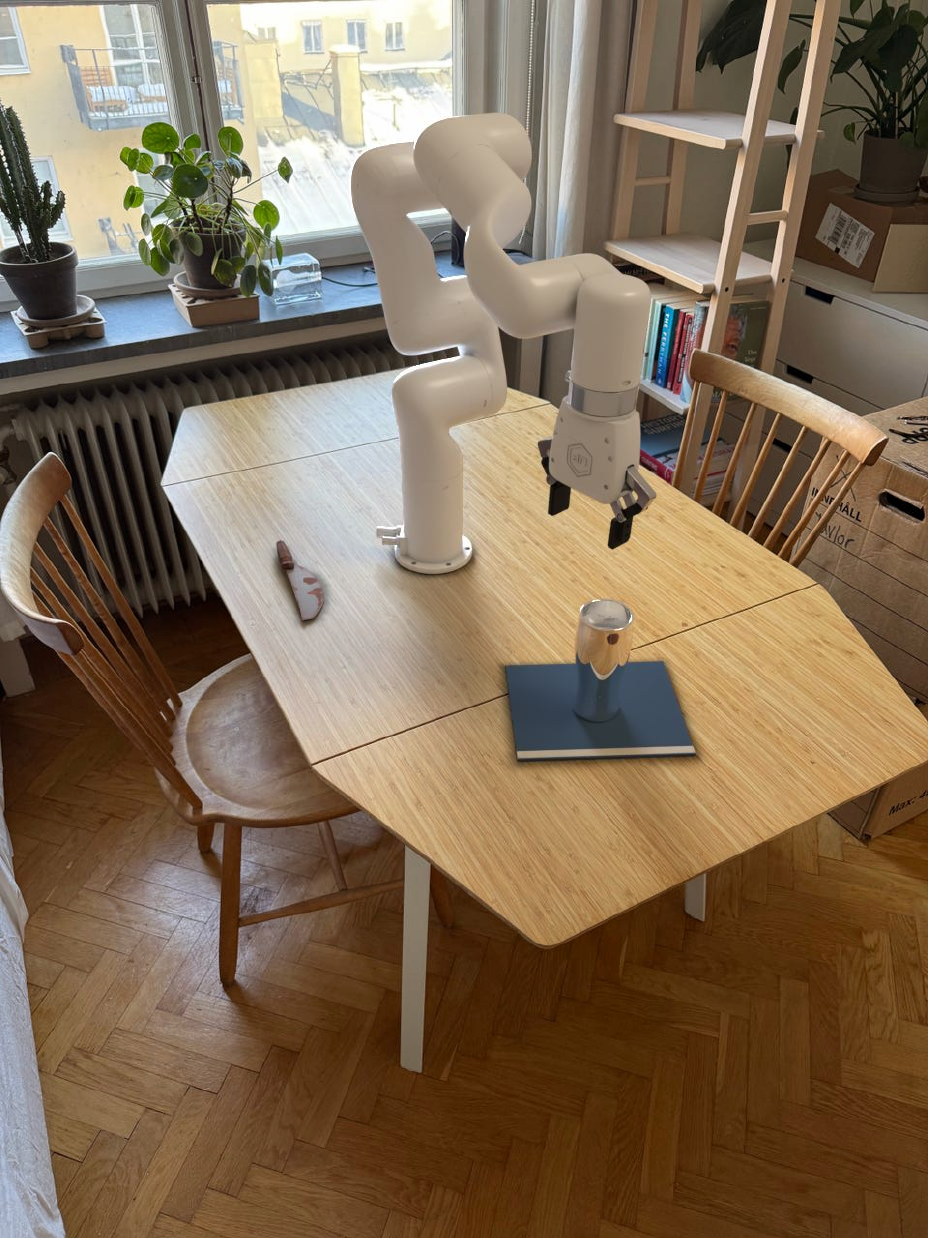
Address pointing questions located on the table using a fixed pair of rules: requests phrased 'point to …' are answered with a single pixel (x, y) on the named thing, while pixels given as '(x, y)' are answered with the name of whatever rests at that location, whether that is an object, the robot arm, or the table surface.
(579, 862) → the table surface
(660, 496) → the table surface
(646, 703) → the blue hardcover book
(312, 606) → the kitchen knife
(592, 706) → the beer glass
